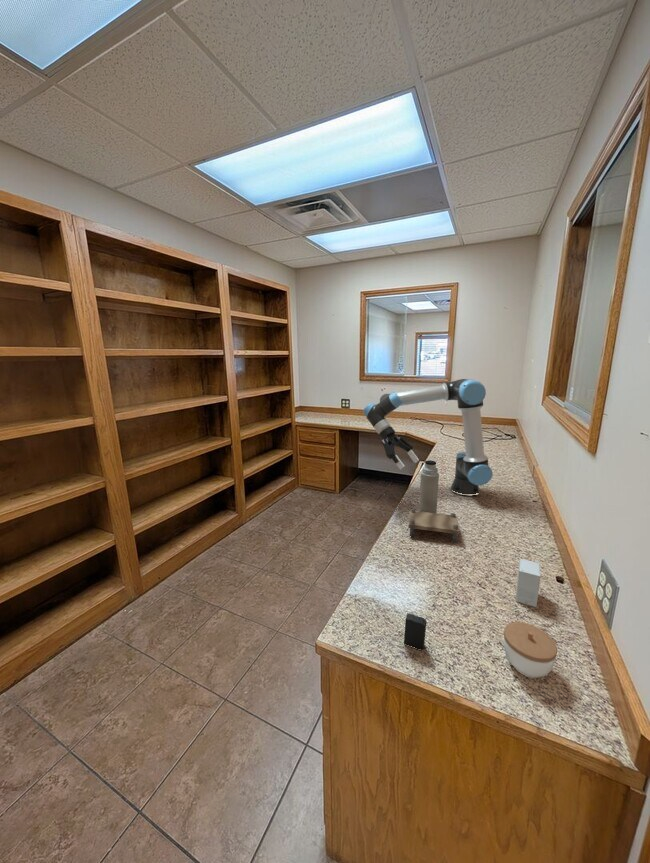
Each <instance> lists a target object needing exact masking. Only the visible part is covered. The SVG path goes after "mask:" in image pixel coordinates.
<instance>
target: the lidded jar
mask: <svg viewBox="0 0 650 863" xmlns="http://www.w3.org/2000/svg"><path fill="white" fill-rule="evenodd" d="M503 649H504V652H505V655H506V657H507V659H508V661H509V663H510V664H511V666H513V668H514V669H515V670H516V671H517V672H518V673H519V672H520V673H519V674H521V675H522V674H523V676H524V675H525V676H524V677H526V676H527V678H531V679H538V678H543V677H545V676H547V675H548V674H549V673H551V671H552V670H553V668H554V666H555V663H556V657H557V654H558V647H557V644H556V642H555V640H553V638H552V637H551V636H550V635H549V634H548V633H546V631H544V630H543V629H541V628H539V627H537V626H535V625H533V624H530V623H527V622H523V621H522V622H521V621H514V622H513V621H512V622H510V623H508V624H506V625H505V627H504V630H503Z"/></svg>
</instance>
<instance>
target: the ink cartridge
mask: <svg viewBox="0 0 650 863" xmlns="http://www.w3.org/2000/svg"><path fill="white" fill-rule="evenodd" d="M404 622H405V624H404V626H405V627H404V637H403V644H404V645H405V644H406V645H409V646H412V647H415V648H417V649H416V650H418V649H421V650H423V651H424V649H425V648H424V647H425V644H426V642H425V641H426V630H427V619H426V618H424V617H422V616H418V615H415V614H412V613H408V612H407V613H406V617H405V621H404ZM406 645H405V646H406ZM409 646H408V647H409ZM412 647H411V648H412ZM415 648H414V649H415ZM421 650H420V651H421Z"/></svg>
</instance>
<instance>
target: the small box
mask: <svg viewBox="0 0 650 863" xmlns="http://www.w3.org/2000/svg"><path fill="white" fill-rule="evenodd" d="M541 576H542V575H541V564H540V563H539V562H536V561H531V560H527V559H524V558H519V561H518V569H517V578H516V586H515V587H516V589H515V590H516V591H515V602H516V603H517V602H518V603H520V604H524V605H526V606H530V607H534V608H538V600H539V591H540V583H541Z"/></svg>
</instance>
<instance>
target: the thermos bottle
mask: <svg viewBox="0 0 650 863" xmlns="http://www.w3.org/2000/svg"><path fill="white" fill-rule="evenodd" d="M436 464H437V461H435V460H430V459H429V460H428V459H427V460H424V466H423V467H422V469H421V470H422V471H421V472H420V485H419V501H418V502H419V504H418V505H419V506H418V511H419V512H428V513H437V509H438V494H439V493H438V492H439V480H440V479H439V478H440V473H439V472H438V471H439V470H438V468H437V465H436ZM437 514H438V513H437Z"/></svg>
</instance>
